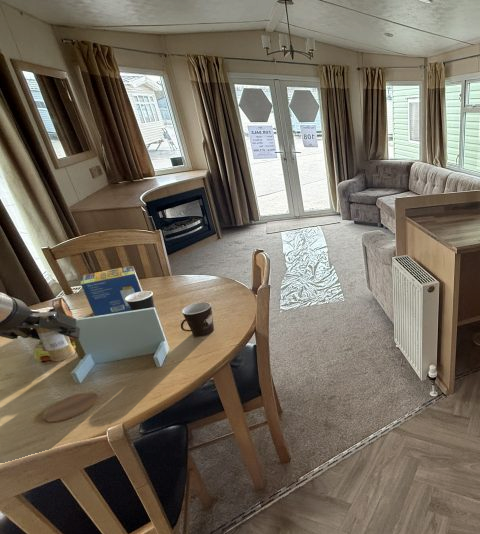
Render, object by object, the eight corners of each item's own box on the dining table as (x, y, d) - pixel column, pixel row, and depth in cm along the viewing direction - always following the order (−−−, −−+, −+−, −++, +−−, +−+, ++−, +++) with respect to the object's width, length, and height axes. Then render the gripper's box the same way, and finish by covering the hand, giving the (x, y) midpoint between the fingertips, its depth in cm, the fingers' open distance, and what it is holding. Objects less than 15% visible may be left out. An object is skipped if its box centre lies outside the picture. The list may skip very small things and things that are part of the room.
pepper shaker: (73, 360, 107) (58, 331, 102) (88, 348, 112) (74, 320, 108) (94, 358, 108) (81, 329, 103) (108, 347, 113) (96, 319, 109)
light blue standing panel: (76, 384, 97) (52, 338, 91) (92, 363, 106) (71, 319, 99) (161, 366, 105) (144, 323, 99) (169, 348, 113) (154, 307, 107)
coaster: (37, 413, 88) (36, 412, 87) (87, 388, 96) (86, 387, 96) (54, 428, 84) (53, 427, 83) (105, 401, 92) (104, 400, 92)
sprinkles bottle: (78, 348, 90) (57, 305, 85) (73, 358, 87) (50, 313, 81) (54, 354, 88) (31, 309, 83) (47, 364, 84) (23, 318, 79)
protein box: (96, 310, 134) (80, 275, 128) (145, 298, 144) (133, 265, 138) (95, 321, 127) (79, 284, 121) (147, 308, 137) (135, 273, 131)
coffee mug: (209, 322, 128) (202, 299, 124) (222, 329, 124) (216, 306, 120) (175, 338, 119) (166, 313, 115) (188, 345, 115) (180, 320, 111)
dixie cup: (149, 314, 132) (140, 289, 128) (166, 317, 131) (158, 292, 127) (129, 325, 125) (118, 299, 121) (146, 328, 124) (136, 302, 119)
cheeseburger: (28, 358, 107) (25, 328, 105) (74, 347, 117) (72, 319, 115) (42, 367, 103) (39, 336, 101) (89, 355, 113) (87, 326, 111)
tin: (74, 327, 123) (64, 307, 120) (61, 331, 121) (51, 310, 118) (72, 312, 133) (63, 293, 129) (60, 315, 130) (51, 296, 127)
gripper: (-78, 338, 64) (17, 357, 84) (45, 320, 71) (106, 341, 91) (-70, 301, 66) (21, 328, 87) (49, 287, 73) (107, 315, 93)
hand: (65, 335), depth 89 cm, fingers closed on sprinkles bottle, 4 cm apart
